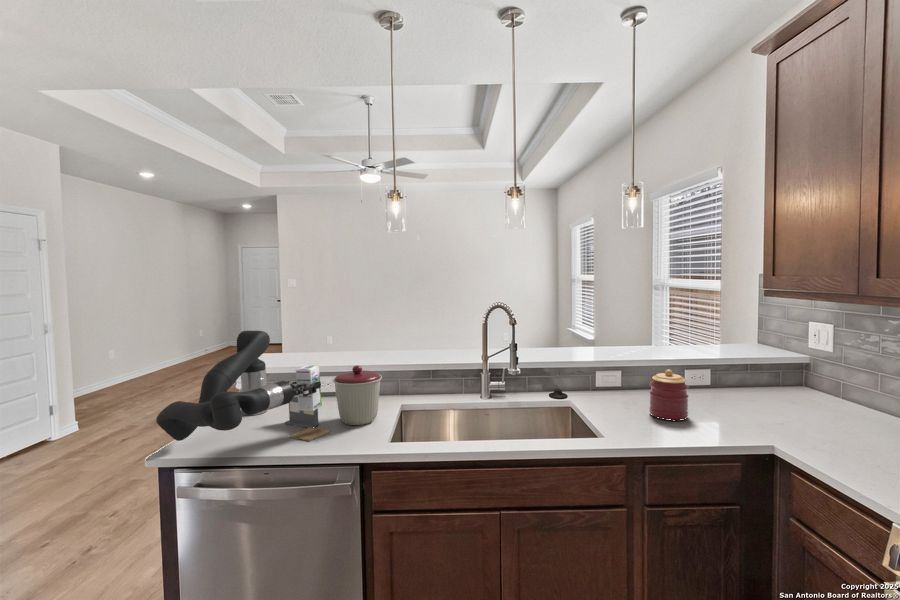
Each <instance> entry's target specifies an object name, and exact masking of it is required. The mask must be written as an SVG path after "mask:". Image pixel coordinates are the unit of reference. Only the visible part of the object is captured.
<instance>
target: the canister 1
mask: <svg viewBox="0 0 900 600" xmlns="http://www.w3.org/2000/svg"><path fill="white" fill-rule="evenodd" d="M382 378H383V376H382V375H381V374H379V373H378V372H376V371H372V370H363V367H362V366H361V365H354V366H353V367H352V371H351V370H350V371H345V372H342V373H340V374H337V375H336V376H335V377H333V379H332V382H333V384H334V389H335V396H336V403H337V404H336V405H337V409H338V415H339V418H340V421H341V422H342V423H343V424H345V425H348V426H362V425H367V424H370V423H372V422H373V421H374V420H376V418H377V416H378V411H379V398H380V390H381V388H380V387H381V380H382Z"/></svg>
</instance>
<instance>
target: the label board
mask: <svg viewBox="0 0 900 600" xmlns="http://www.w3.org/2000/svg"><path fill="white" fill-rule="evenodd" d="M288 415H289V416H288V417H289V420H287V421H285V422H284V424H285V425H288V424H289V425H288V426H293V425H296V426H295V427H299V426H301V427H300V428H305V427H307V428H308V427H311V428H313V427H315V428H317V427H319V407H318V408H317V409H315V410H314V411H301V410H299V407H298V396H296V397H293V398H292V400H291V401H290V402H289V403H288ZM316 426H317V427H316Z"/></svg>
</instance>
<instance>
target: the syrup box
mask: <svg viewBox="0 0 900 600" xmlns="http://www.w3.org/2000/svg"><path fill="white" fill-rule="evenodd" d="M320 376H321V375H320V366H319V365H314V364H309V365H303V366H302V367H300V368H297V369H296V370H295V377H296V378H295V379H296V381H297V384H303V383H305V384H311V383H315V382H318V381H319V382H321V377H320ZM303 388H304V386H302V390H303ZM321 390H322V389H321V387H320V388H318V389H316V391H317V392H316V393H313V394H311V395H308V396H306V397H304V396H303V395H299V396H298V407H299V410H301V411H314V410H315V409H317V408H318V409H319V408H320V407H322V404H323V403H322V392H321Z"/></svg>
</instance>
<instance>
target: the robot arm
mask: <svg viewBox="0 0 900 600" xmlns="http://www.w3.org/2000/svg"><path fill="white" fill-rule="evenodd" d="M270 339H271V338H270V335H269V333H268V332H266V331H263V330H242V331H240V333H238V336H237V337H236V353H234V354H232V355H230V356H228V357H226V358H224V359H222V360H221V361H218V362H217V363H216V364H215V365H214V366H213V367H212V368H210V370H209V371H208V372H207V373H206V374H205V375H204V376H203V379H202V382H201V385H200V386H201V388H200V395H199V399H198V402H189V401H183V400H182V401H181V400H177V401H175V402H172V403H170V404H168V405H167V406H166V407H164V408H162V410H161V411H160V412H159V413H158V414H157V416H156V419H155V421H156V423H157V425H158V426H159V427H160V428H161V429H162V430H163V431H164V432H165V433H166V434H167V435H168V436H170V437H171V438H172V439H174V440H175V441H177V442H179V441H183V440H186V439H187V438H189V436H191V435H192V434H193V433H194V432H195V431H196V430H197V428H198V427H200V428H202V427H203V428H204V427H210V428H212V429H214V430H217V431H224V432H225V431H231V430H233V429H235V428H237V427H239V426H240V424H241V423H242V420H243V415H244V416H256V415H261V414H264V413H266V412H268V411H269V410H270V411H271V410H273V409H277V408H279V407H282V406H284V405H287V404H289V402H290V401H291V400H292V398H293V397H296V396H299V395H303V396H304V397H306V396H308V395H311V394H313V393H316V392H317V391H316V389H318V388H321V387H322V384H321V383H322V382H321V381H320V382H319V381H318V382H315V383H311V384H305V383H303V384H297V381H295V380H294V381H290V380H288V381H286V380H280V381H277V382H272V383H269V384H267V370H266V369H267V368H266V362H265V361H264V360H261V359H259V358H260V357H261V356H262V355H263V354H264V353H265V352H266V351H267V350H268V348H269V346H270V342H271V340H270ZM239 378H240V384H241V386H240V387H241V389H240V390H239V391H229V390H230V389H231V387H232V386H233V385H234V384H235V383H236V381H237V380H238V379H239ZM302 386H304V388H303V390H302Z"/></svg>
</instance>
